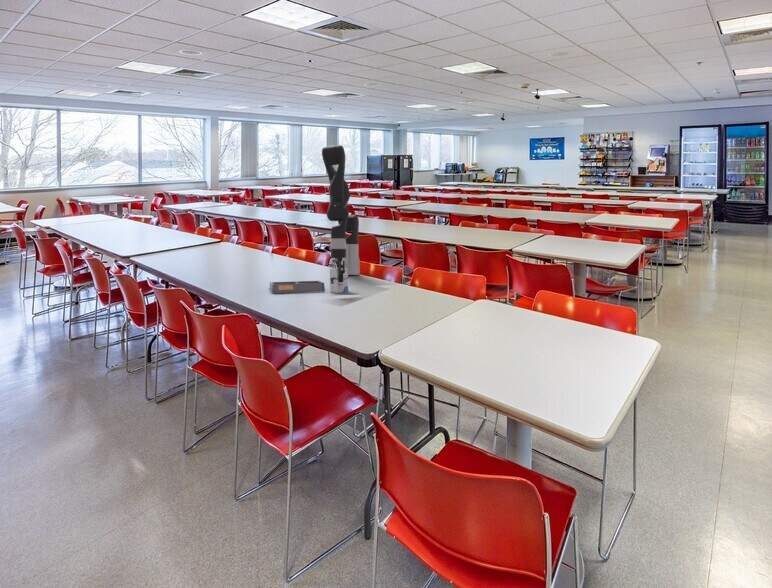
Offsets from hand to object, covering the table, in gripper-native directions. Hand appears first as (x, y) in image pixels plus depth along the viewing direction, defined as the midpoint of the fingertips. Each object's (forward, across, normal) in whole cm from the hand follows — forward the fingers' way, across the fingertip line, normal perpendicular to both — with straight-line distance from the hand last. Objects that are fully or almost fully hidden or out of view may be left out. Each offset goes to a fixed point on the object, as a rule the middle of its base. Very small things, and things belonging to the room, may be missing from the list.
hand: (338, 281), depth 234 cm
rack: (+5, +11, +19) cm, 22 cm away
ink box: (+5, 0, 0) cm, 5 cm away
